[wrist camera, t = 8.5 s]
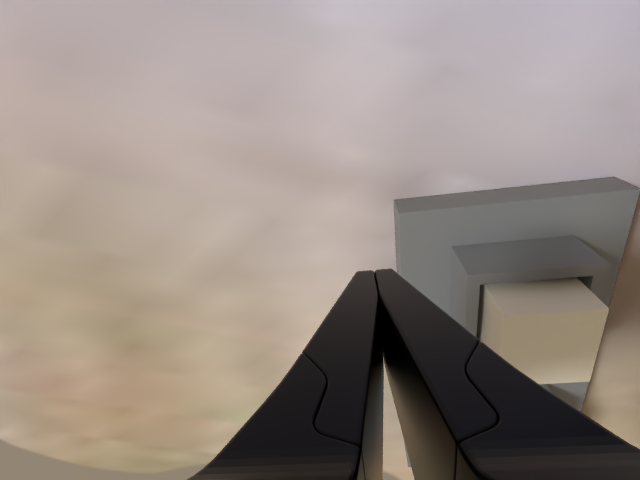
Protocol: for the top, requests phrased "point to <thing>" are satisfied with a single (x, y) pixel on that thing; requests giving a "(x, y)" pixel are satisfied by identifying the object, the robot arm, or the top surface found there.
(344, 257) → the top surface
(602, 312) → the beige cube
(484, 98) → the top surface
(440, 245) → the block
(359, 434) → the robot arm
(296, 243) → the top surface
